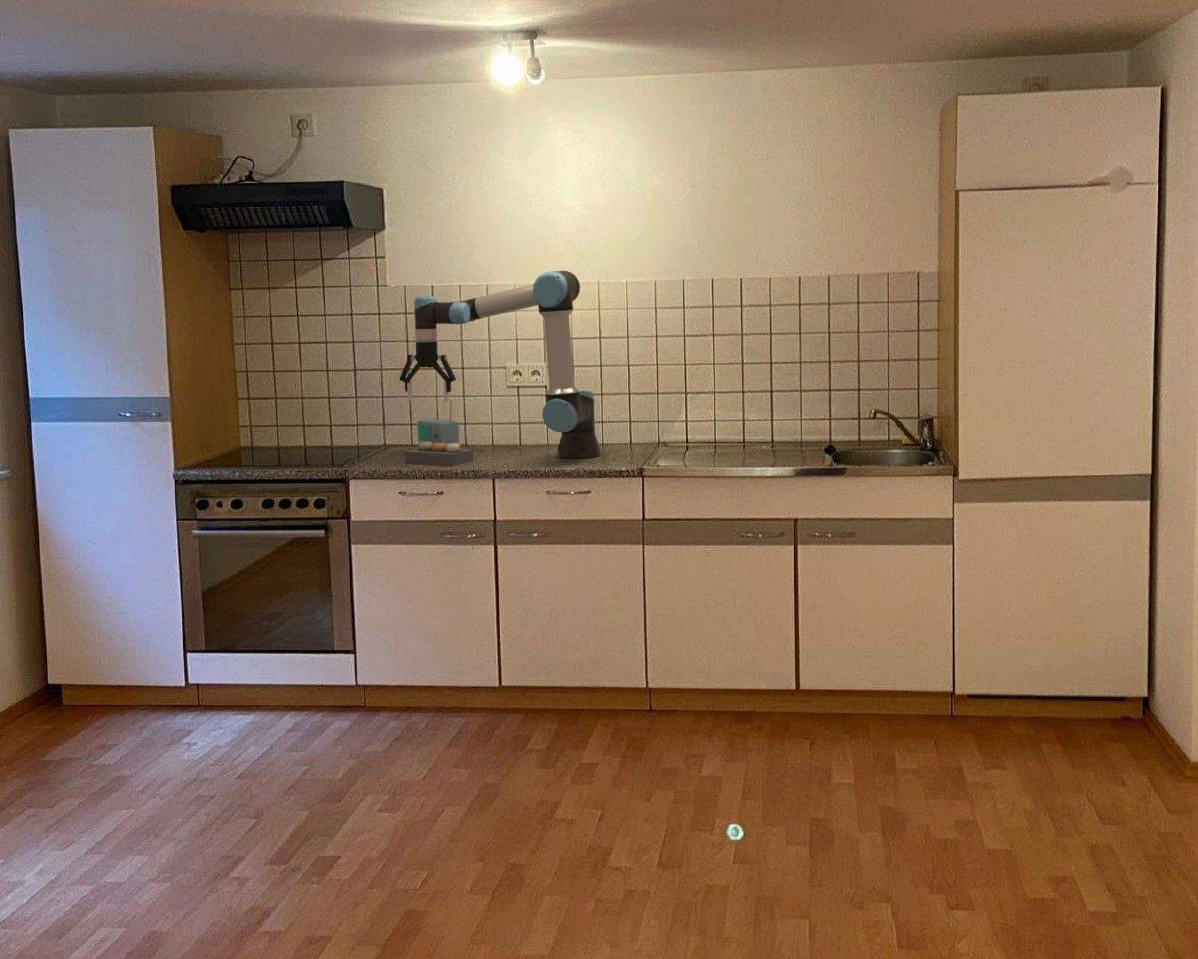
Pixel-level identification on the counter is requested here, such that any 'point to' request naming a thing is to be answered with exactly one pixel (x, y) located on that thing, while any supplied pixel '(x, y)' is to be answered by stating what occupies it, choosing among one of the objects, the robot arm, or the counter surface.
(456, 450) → the button ivory
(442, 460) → the grey piece
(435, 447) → the button terracotta
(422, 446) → the button sage
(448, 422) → the radio
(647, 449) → the counter surface
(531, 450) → the counter surface
